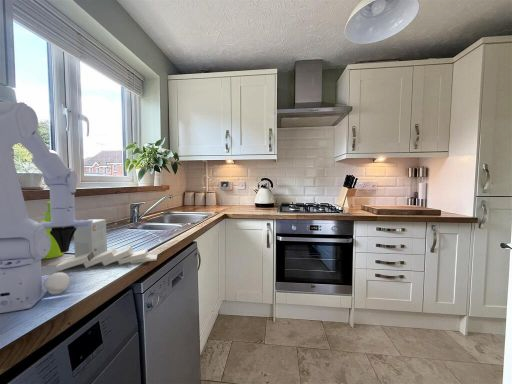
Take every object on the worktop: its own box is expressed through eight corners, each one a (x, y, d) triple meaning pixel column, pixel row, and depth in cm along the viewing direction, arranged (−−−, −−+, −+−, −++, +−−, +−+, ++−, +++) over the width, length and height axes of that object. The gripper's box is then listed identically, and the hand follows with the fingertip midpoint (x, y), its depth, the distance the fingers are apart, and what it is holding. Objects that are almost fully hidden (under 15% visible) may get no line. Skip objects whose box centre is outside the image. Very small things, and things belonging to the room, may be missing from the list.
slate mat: (127, 266, 74) (127, 265, 74) (30, 278, 65) (30, 276, 65) (131, 257, 82) (131, 256, 82) (46, 267, 73) (46, 265, 73)
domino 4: (119, 264, 74) (145, 257, 76) (118, 259, 74) (144, 253, 76) (123, 259, 79) (148, 253, 81) (122, 255, 79) (147, 249, 81)
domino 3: (104, 266, 73) (130, 254, 75) (101, 261, 73) (127, 250, 75) (108, 261, 77) (133, 250, 79) (106, 256, 77) (131, 246, 79)
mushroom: (39, 294, 55) (39, 274, 55) (64, 286, 59) (64, 267, 59) (49, 300, 53) (49, 278, 53) (73, 291, 57) (73, 272, 57)
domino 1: (58, 271, 69) (90, 260, 72) (56, 266, 69) (88, 256, 71) (64, 265, 73) (94, 256, 76) (62, 261, 73) (92, 251, 76)
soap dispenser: (68, 252, 88) (65, 200, 87) (59, 258, 82) (56, 201, 81) (49, 253, 86) (46, 200, 85) (38, 260, 80) (35, 202, 79)
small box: (91, 253, 87) (89, 219, 86) (107, 253, 87) (106, 219, 86) (74, 260, 79) (72, 223, 78) (92, 260, 79) (91, 223, 78)
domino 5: (130, 266, 76) (156, 263, 78) (129, 261, 75) (156, 258, 78) (132, 261, 80) (157, 258, 83) (131, 257, 80) (157, 254, 83)
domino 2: (85, 268, 71) (113, 256, 74) (83, 263, 71) (111, 251, 74) (90, 263, 76) (116, 252, 78) (88, 258, 75) (114, 248, 78)
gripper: (94, 205, 77) (96, 245, 77) (39, 207, 71) (41, 250, 72) (88, 207, 70) (89, 251, 71) (26, 210, 65) (29, 257, 66)
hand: (64, 251), depth 71 cm, fingers closed
